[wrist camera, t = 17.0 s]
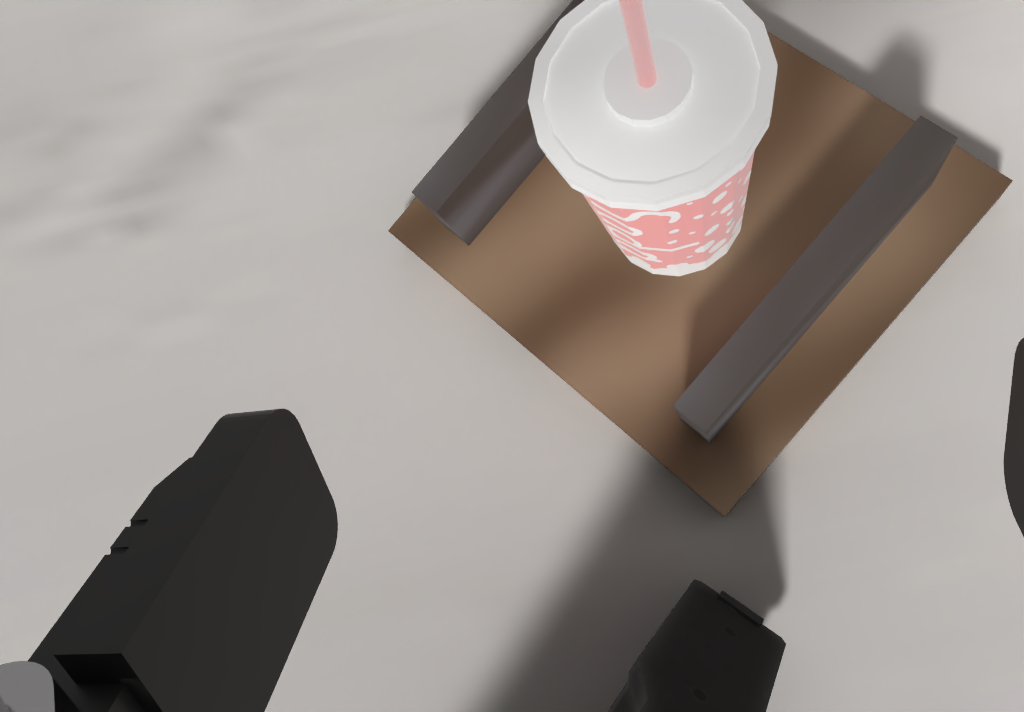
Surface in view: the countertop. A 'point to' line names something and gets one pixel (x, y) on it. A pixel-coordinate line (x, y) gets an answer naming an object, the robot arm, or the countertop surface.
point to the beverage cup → (657, 120)
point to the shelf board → (720, 287)
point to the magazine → (705, 659)
